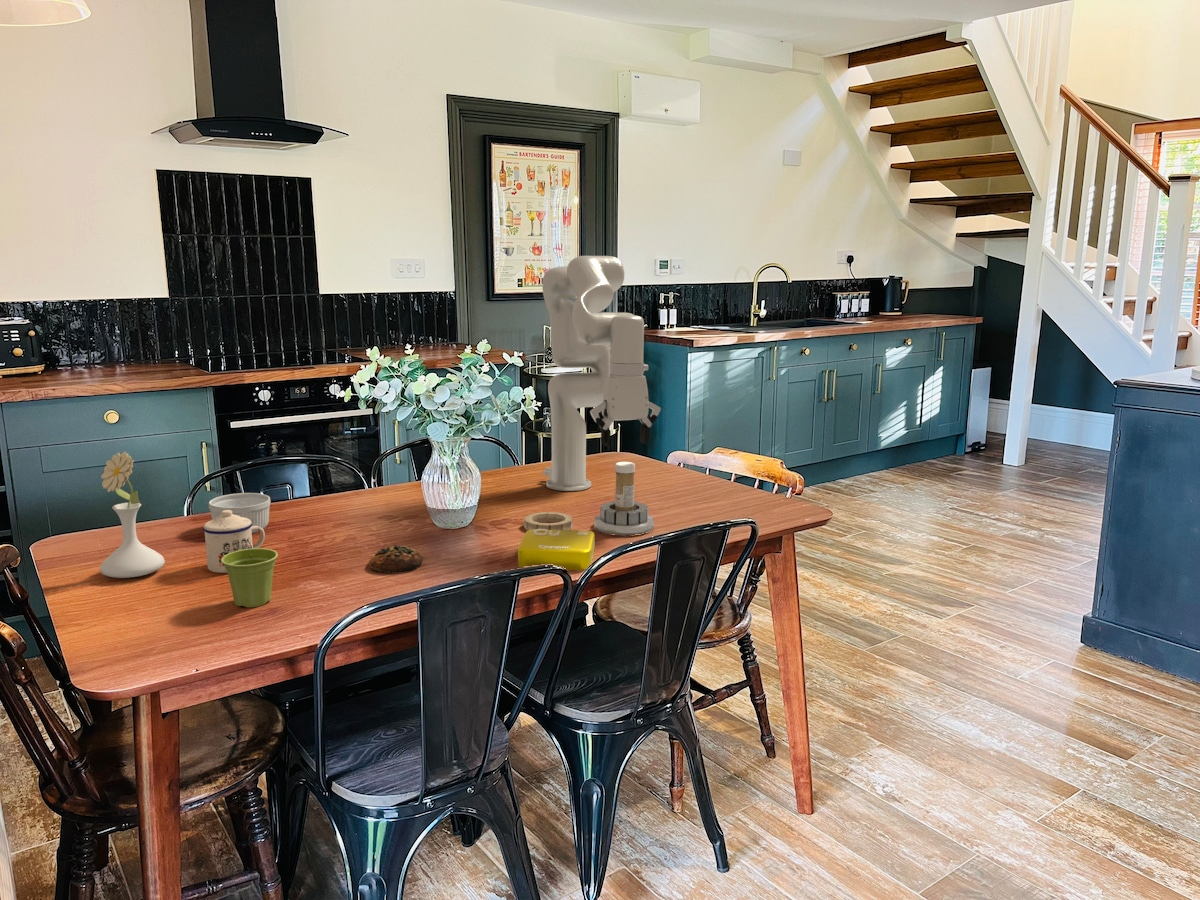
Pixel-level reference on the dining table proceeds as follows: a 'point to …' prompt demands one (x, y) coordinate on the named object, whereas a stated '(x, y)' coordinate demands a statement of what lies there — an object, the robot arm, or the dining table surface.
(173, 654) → the dining table surface
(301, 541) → the dining table surface
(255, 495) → the ramekin
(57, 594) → the dining table surface
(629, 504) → the sprinkles bottle
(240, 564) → the plant pot
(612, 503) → the hub
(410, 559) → the bread roll
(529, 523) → the beige flat ring
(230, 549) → the teacup with lid
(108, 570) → the flower in vase
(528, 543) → the element tile
